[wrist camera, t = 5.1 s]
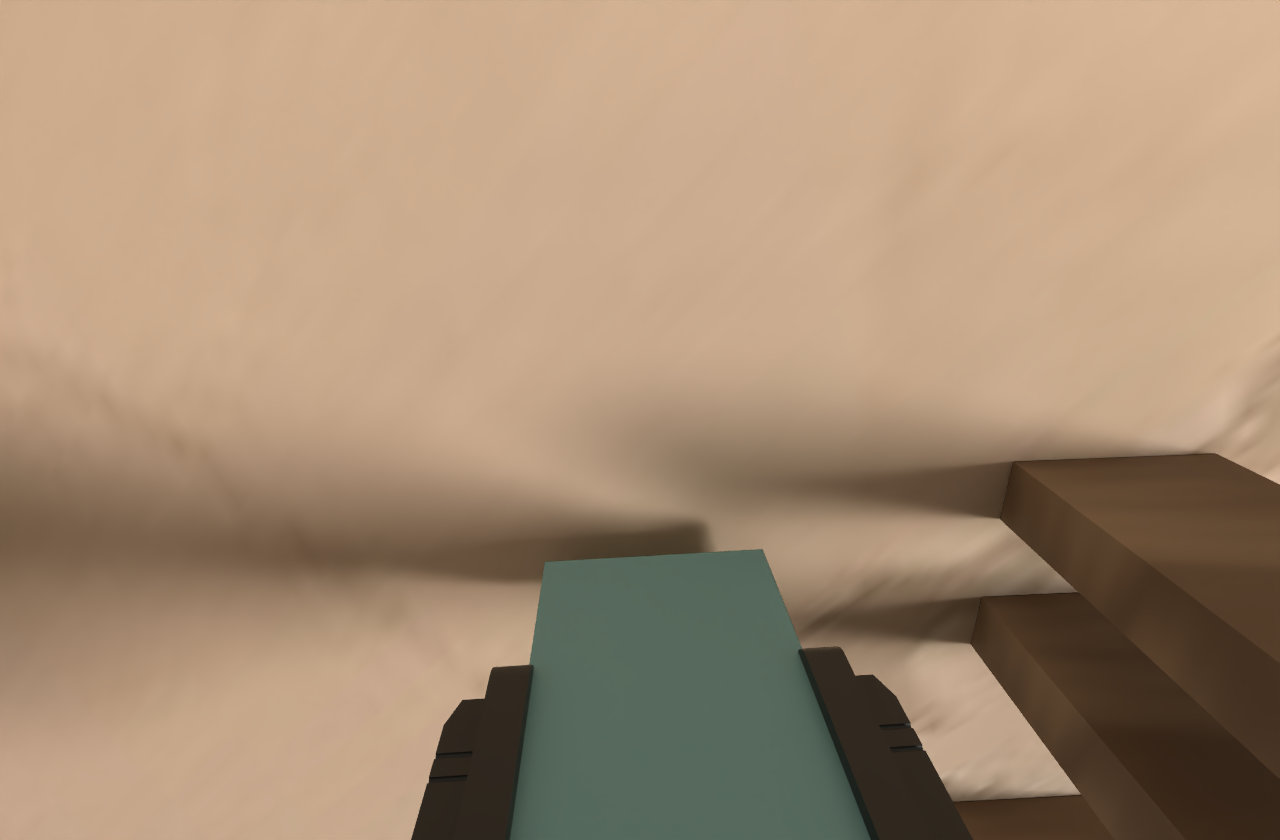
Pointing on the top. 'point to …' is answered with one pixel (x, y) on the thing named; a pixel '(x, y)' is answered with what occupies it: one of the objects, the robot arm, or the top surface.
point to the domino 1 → (674, 709)
